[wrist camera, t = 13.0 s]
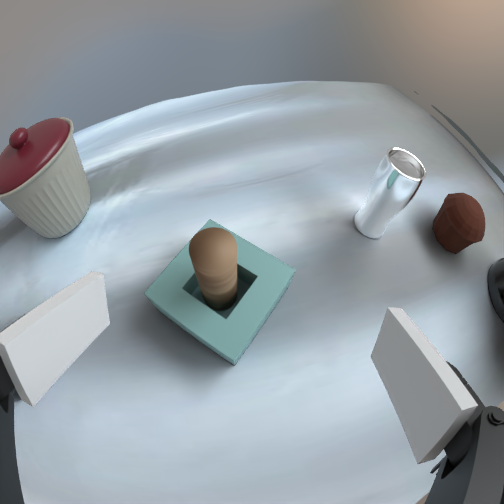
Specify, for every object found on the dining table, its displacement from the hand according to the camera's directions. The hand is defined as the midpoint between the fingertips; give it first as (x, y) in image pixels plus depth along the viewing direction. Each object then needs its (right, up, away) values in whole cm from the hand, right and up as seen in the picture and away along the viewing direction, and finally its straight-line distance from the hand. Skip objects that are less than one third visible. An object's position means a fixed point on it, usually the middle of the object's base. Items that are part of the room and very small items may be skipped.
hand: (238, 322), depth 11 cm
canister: (-35, +10, +32) cm, 48 cm away
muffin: (+41, +6, +34) cm, 53 cm away
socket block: (-3, -3, +25) cm, 26 cm away
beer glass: (+21, +8, +33) cm, 40 cm away
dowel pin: (-4, -2, +23) cm, 24 cm away
